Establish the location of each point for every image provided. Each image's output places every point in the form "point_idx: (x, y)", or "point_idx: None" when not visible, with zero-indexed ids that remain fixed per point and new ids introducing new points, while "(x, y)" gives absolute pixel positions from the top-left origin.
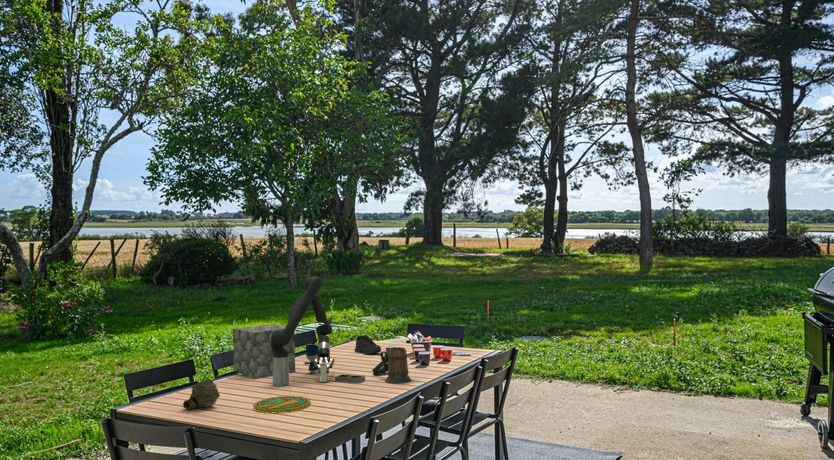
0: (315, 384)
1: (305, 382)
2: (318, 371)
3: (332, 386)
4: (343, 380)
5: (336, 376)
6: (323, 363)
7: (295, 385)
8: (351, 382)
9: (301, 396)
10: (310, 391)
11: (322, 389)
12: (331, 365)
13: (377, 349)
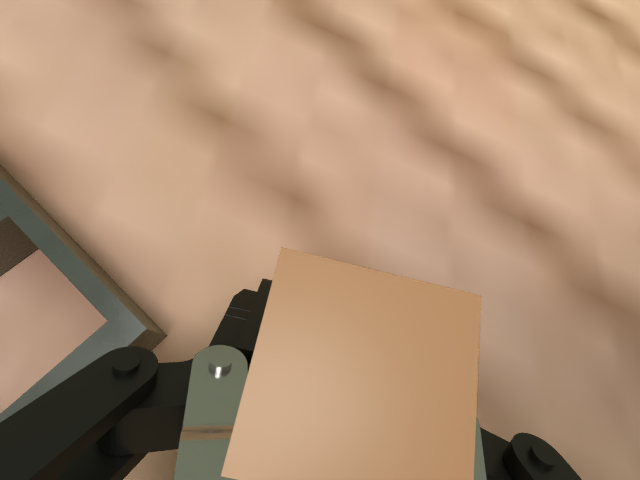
0: None
1: None
2: None
3: (263, 124)
4: (71, 242)
5: (113, 342)
6: (377, 280)
7: (618, 337)
8: (10, 175)
9: None
10: (466, 56)
11: (369, 68)
12: (112, 359)
13: None
